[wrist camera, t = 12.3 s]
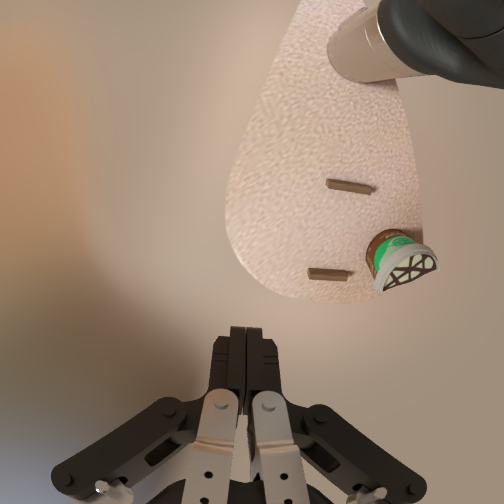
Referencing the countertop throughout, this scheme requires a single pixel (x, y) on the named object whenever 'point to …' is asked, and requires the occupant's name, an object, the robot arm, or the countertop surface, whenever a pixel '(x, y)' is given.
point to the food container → (398, 259)
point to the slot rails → (337, 274)
